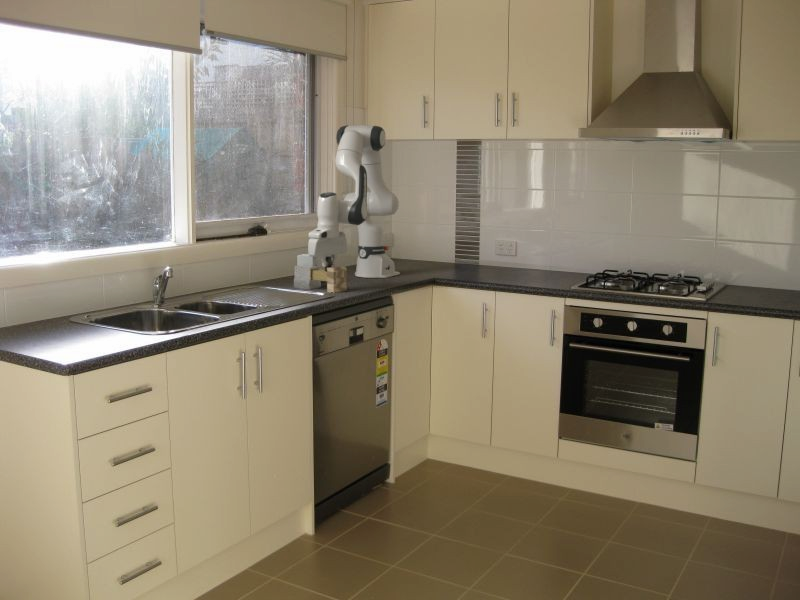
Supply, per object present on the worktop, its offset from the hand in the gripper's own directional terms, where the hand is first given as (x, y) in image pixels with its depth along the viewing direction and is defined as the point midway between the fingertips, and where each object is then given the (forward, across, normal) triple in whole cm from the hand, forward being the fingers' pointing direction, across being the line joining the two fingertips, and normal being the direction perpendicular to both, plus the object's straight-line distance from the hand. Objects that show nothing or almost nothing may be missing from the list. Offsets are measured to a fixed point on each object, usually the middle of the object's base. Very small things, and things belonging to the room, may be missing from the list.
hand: (328, 266), depth 360 cm
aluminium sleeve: (+10, 0, -12) cm, 16 cm away
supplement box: (+10, -9, -21) cm, 25 cm away
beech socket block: (+10, 0, +5) cm, 11 cm away
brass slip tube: (+6, 0, -2) cm, 7 cm away
